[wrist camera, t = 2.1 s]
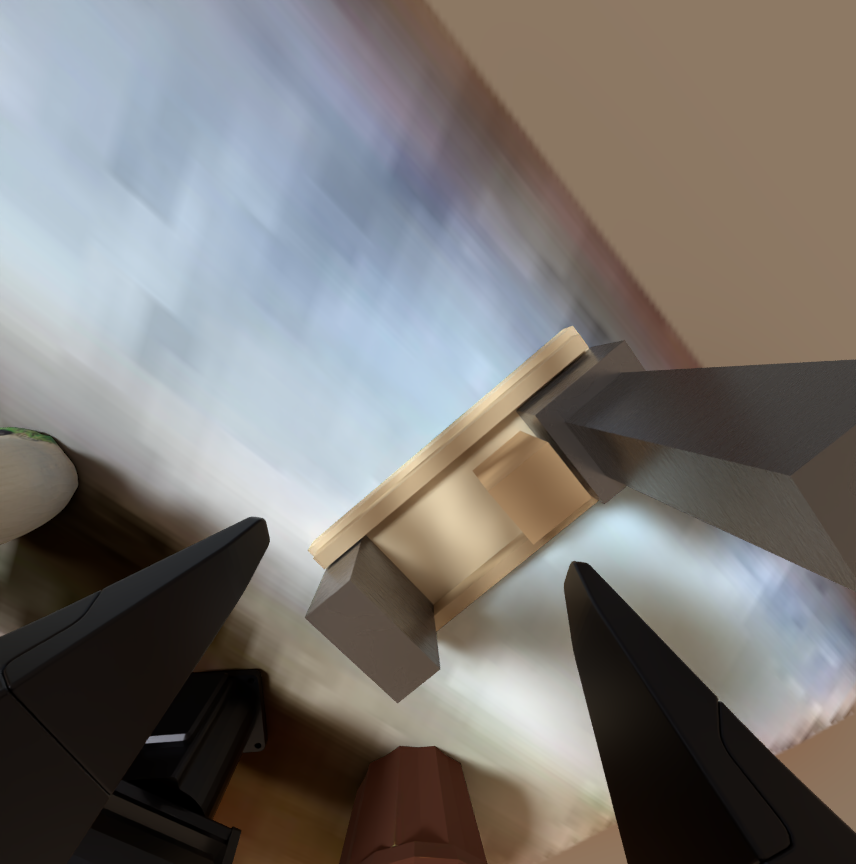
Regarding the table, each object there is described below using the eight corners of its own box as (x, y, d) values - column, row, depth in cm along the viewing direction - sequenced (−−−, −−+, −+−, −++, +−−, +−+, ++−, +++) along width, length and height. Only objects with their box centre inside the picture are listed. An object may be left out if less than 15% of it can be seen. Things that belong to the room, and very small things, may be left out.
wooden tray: (408, 635, 23) (408, 661, 21) (313, 541, 21) (302, 559, 19) (645, 442, 22) (671, 449, 20) (563, 329, 20) (581, 322, 18)
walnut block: (509, 514, 21) (533, 544, 17) (472, 470, 20) (487, 491, 16) (556, 476, 21) (591, 497, 17) (520, 430, 20) (547, 441, 16)
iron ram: (576, 486, 20) (857, 658, 8) (515, 410, 19) (723, 461, 7) (648, 427, 20) (1067, 503, 7) (591, 347, 19) (961, 271, 6)
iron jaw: (399, 630, 22) (397, 703, 17) (329, 561, 21) (304, 617, 16) (432, 603, 21) (440, 669, 17) (363, 532, 20) (349, 580, 15)
